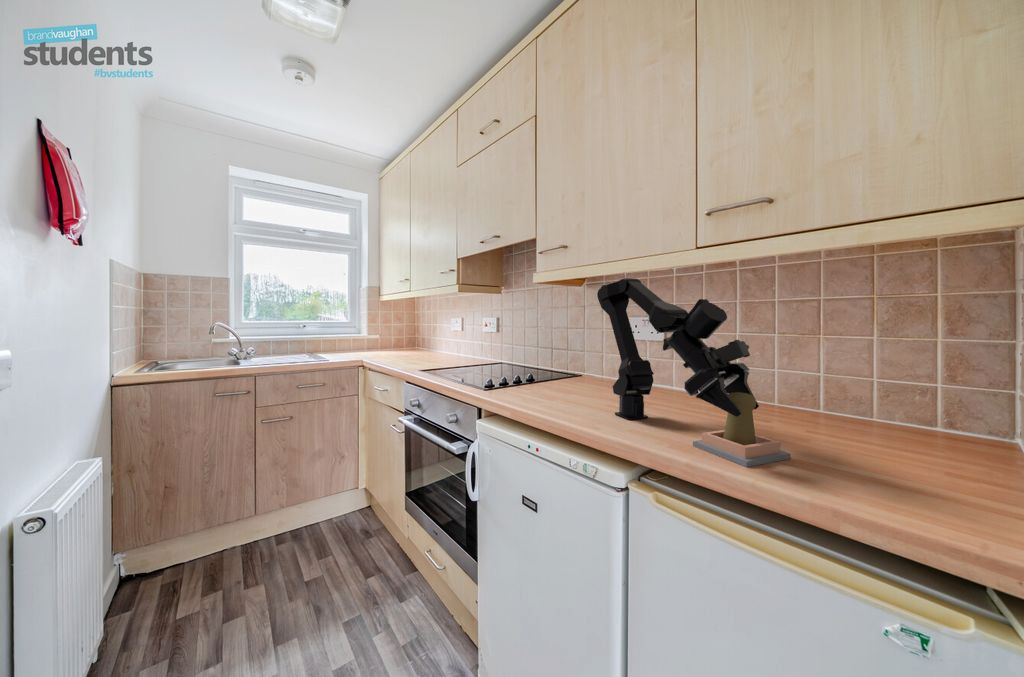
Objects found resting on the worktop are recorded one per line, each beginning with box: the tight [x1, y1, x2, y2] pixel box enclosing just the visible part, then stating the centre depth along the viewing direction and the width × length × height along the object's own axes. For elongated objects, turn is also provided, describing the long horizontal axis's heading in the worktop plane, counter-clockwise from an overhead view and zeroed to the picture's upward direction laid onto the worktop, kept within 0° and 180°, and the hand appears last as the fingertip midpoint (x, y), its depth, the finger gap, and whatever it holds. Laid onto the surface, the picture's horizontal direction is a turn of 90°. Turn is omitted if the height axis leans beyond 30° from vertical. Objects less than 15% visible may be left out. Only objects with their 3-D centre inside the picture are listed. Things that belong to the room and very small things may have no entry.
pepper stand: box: [692, 429, 792, 468], centre depth 74 cm, size 12×12×3 cm
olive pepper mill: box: [723, 392, 757, 446], centre depth 74 cm, size 6×6×11 cm
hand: (748, 411), depth 73 cm, fingers open, 9 cm apart
